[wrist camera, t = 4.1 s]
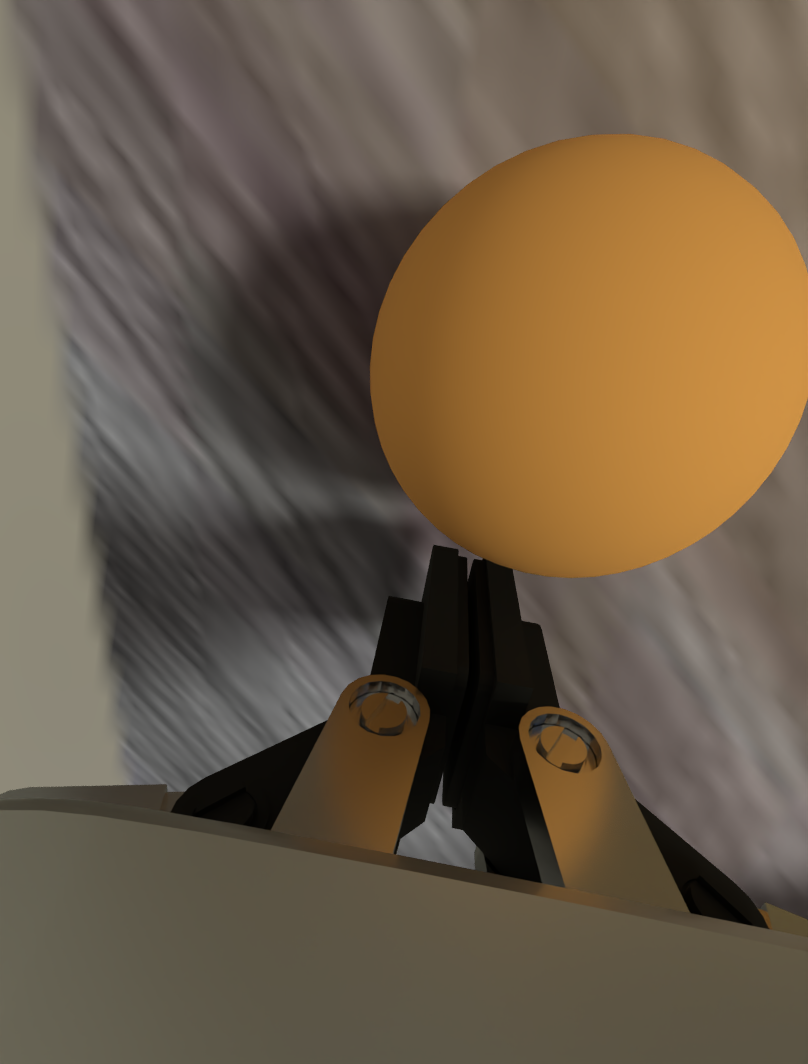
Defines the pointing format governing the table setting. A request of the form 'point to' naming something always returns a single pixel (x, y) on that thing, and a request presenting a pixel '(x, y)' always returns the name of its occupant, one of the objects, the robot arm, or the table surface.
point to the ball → (592, 355)
